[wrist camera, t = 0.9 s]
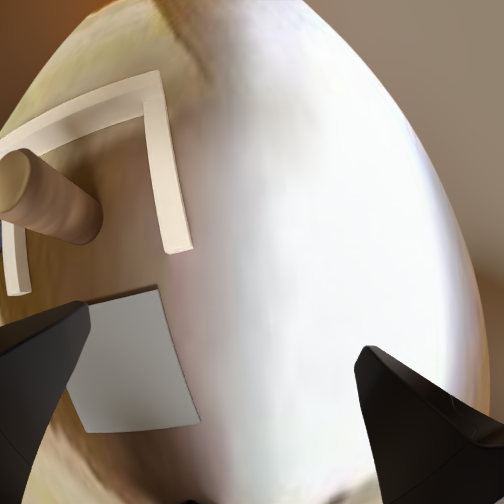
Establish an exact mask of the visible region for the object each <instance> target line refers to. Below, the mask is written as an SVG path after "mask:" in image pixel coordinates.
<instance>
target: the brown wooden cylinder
mask: <svg viewBox="0 0 504 504" xmlns="http://www.w3.org/2000/svg"><path fill="white" fill-rule="evenodd" d="M0 220H3V221H6V222H9V223H12V224H15V225H18V226H21V227H24V228H27V229H30V230H33V231H36V232H39V233H42V234H45V235H48V236H51V237H54V238H57V239H61V240H64V241H67V242H70V243H73V244H77V245H84V244H87V243H89V242H91V241H92V240H93V239H94V238H95V237H96V236H97V235H98V233H99V231H100V229H101V226H102V223H103V211H102V208H101V206H100V204H99V202H98V201H97V200H95V199H94V198H93V197H91V196H90V195H88V194H87V193H86V192H84V191H83V190H82V189H80V188H79V187H78V186H76V185H75V184H73V183H72V182H71V181H69V180H68V179H67V178H65V177H64V176H63V175H62V174H60V173H59V172H58V171H56V170H55V169H54V168H52V167H51V166H50V165H49V164H47V163H46V162H45V161H43V160H42V159H41V158H40V157H38V156H37V155H36V154H35V153H33V152H32V151H31V150H29V149H27V148H21V149H18V150H14V151H11V152H9V153H7V154H6V155H5V156H4V157H3V158H2V159H1V160H0Z"/></svg>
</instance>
